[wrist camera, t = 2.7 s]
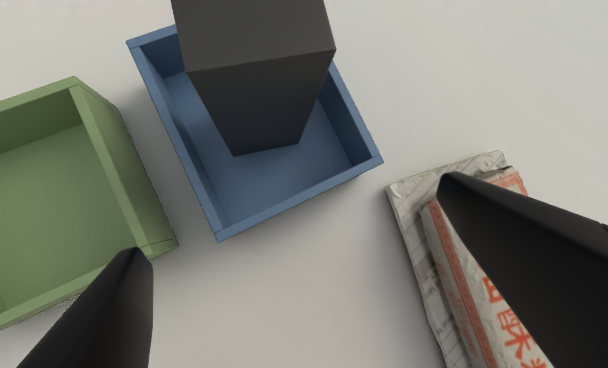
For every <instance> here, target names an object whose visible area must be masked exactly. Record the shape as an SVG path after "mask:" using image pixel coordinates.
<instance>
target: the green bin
mask: <svg viewBox="0 0 608 368" xmlns="http://www.w3.org/2000/svg"><path fill="white" fill-rule="evenodd" d="M178 246H179V245H178V243H177V240H176V238H175V236H174V234H173V231H172V229H171V227H170V225H169V223H168V220H167V218H166V216H165V214H164V211H163V209H162V207H161V205H160V203H159V200H158V198H157V196H156V194H155V191H154V189H153V187H152V185H151V182H150V180H149V178H148V176H147V174H146V171H145V169H144V167H143V165H142V162H141V160H140V158H139V156H138V154H137V151H136V149H135V147H134V145H133V142H132V140H131V138H130V136H129V133H128V131H127V129H126V127H125V125H124V122H123V120H122V118H121V116H120V113H119V111H118V109H117V107H116V106H114V105H113V104H112V103H110V102H109V101H108V100H106V99H105V98H104V97H102V96H101V95H100V94H98V93H97V92H96V91H94V90H93V89H91V88H90V87H89V86H87V85H86V84H85V83H83V82H82V81H81V80H79V79H78V78H77V77H75V76H72V77H69V78H66V79H63V80H60V81H57V82H54V83H52V84H49V85H46V86H43V87H40V88H37V89H34V90H31V91H29V92H26V93H23V94H20V95H17V96H14V97H11V98H8V99H5V100H3V101H0V330H3V329H5V328H8V327H10V326H12V325H14V324H16V323H19V322H21V321H23V320H25V319H27V318H29V317H31V316H33V315H35V314H38V313H40V312H42V311H44V310H46V309H48V308H50V307H52V306H54V305H57V304H59V303H61V302H63V301H65V300H67V299H69V298H71V297H73V296H75V295H78V294H80V293H82V292H84V290H85V289H86V288H87V287H88V286H89V285H90V284H91V282H92V281H93V280H94V279H95V278H96V277H97V276H98V275H99V273H100V272H101V271H102V270H103V269H104V268H105V267H106V265H107V264H108V263H109V262H110V261H111V260H112V259H113V258H114V256H115V255H116V254H117V253H118V252H119V251H121V250H123V249H127V248H131V247H139V248H140V249H141V250H142V252H143V253H144V254H145V256H146V257H147V259H148V260H151V259H153V258H156V257H158V256H160V255H162V254H164V253H166V252H168V251H170V250H172V249H175V248H177V247H178Z"/></svg>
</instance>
